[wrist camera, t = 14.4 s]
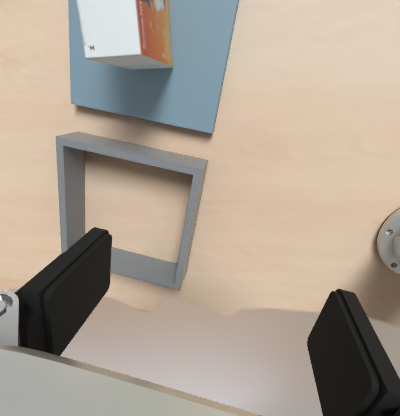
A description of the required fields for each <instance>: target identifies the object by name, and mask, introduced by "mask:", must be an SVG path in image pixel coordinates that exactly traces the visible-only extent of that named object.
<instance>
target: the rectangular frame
mask: <svg viewBox="0 0 400 416" xmlns="http://www.w3.org/2000/svg"><path fill="white" fill-rule="evenodd" d="M84 150H85V151H89V152H94V153H98V154H103V155H107V156H111V157H116V158H120V159H125V160H129V161H133V162H138V163H142V164H147V165H151V166H155V167H160V168H164V169H169V170H173V171H178V172H182V173H186V174H191V175H193V179H192V185H191V191H190V197H189V202H188V208H187V214H186V220H185V225H184V231H183V237H182V243H181V248H180V254H179V260H178V264H175V263H171V262H167V261H163V260H159V259H155V258H152V257H148V256H144V255H140V254H136V253H132V252H128V251H124V250H121V249H117V248H113V247H111V270H110V272H112V273H116V274H119V275H123V276H127V277H131V278H134V279H138V280H142V281H146V282H149V283H153V284H157V285H161V286H164V287H168V288H172V289H176V290H179V291H180V288H181V285H182V282H183V280H184V277H185V274H186V271H187V266H188V261H189V256H190V251H191V246H192V240H193V235H194V230H195V225H196V220H197V215H198V209H199V204H200V199H201V194H202V189H203V184H204V178H205V173H206V168H207V163H208V160H204V159H200V158H195V157H190V156H186V155H181V154H177V153H172V152H168V151H163V150H159V149H154V148H150V147H145V146H141V145H136V144H131V143H127V142H122V141H118V140H113V139H109V138H104V137H100V136H95V135H91V134H86V133H82V132H74V133H70V134H65V135H60V136H56V151H57V170H58V190H59V210H60V229H61V249H62V253H64V252H65V251H66V250H68V249H69V248H70V247H71V246H72V245H73V244H75V243H76V242H77V241H78V240H79V239H81V238H82V237H83V236H84V235H85V173H84Z"/></svg>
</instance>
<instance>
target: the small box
mask: <svg viewBox="0 0 400 416" xmlns="http://www.w3.org/2000/svg"><path fill="white" fill-rule="evenodd" d="M77 6H78V12H79V18H80V24H81V30H82V37H83V44H84V53H85V58H86V59H88V60H92V61H96V62H101V63H105V64H110V65H114V66H118V67H123V68H127V69H131V70H135V69H157V68H173V59H172V46H171V28H170V9H169V0H77Z"/></svg>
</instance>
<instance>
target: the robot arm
mask: <svg viewBox="0 0 400 416" xmlns="http://www.w3.org/2000/svg"><path fill="white" fill-rule="evenodd" d="M111 247H112V236H111V235H110V234H109V232H108V231H107V230H104V229H100V228H96V227H94V228H92V229H91V230H90V231H89V232H88V233H86V234H85V235H84V236H83V237H82V238H81V239H79V240H78V241H77V242H76V243H75V244H73V245H72V246H71V247H70V248H69V249H68V250H66V251H65V252H64V253H62V254H61V255H59V256H58V257H57V258H56V259H55V260H53V261H52V262H51V263H50V264H49V265H48V266H46V267H45V268H44V269H43V270H42V271H40V272H39V273H38V274H37V275H36V276H34V277H33V278H32V279H31V280H30V281H28V282H27V283H26V284H25V285H24V286H23V287H21V288H20V289H19V290H18V291H17V292H15V293H13V292H10V291H5V290H0V416H260V415H257V414H254V413H250V412H247V411H244V410H241V409H238V408H234V407H231V406H227V405H224V404H221V403H218V402H215V401H211V400H208V399H205V398H201V397H198V396H194V395H191V394H188V393H184V392H181V391H178V390H175V389H171V388H168V387H164V386H161V385H158V384H155V383H151V382H148V381H145V380H141V379H138V378H134V377H131V376H128V375H124V374H121V373H117V372H114V371H111V370H107V369H104V368H100V367H97V366H94V365H90V364H87V363H83V362H79V361H76V360H72V359H69V358H65V357H61V356H60V355H61V354H62V352H63V351H64V350H65V348H66V347H67V345H68V344H69V343H70V341H71V340H72V339H73V337H74V336H75V334H76V333H77V332H78V330H79V329H80V328H81V326H82V325H83V324H84V322H85V321H86V319H87V318H88V316H89V315H90V314H91V313H92V311H93V309H94V308H95V307H96V306H97V304H98V303H99V302H100V300H101V299H102V297H103V296H104V295H105V293H106V292H107V290H108V288H109V285H110V270H111ZM377 251H378V254H379V256H380V258H381V259H382V261H383V262H384V264H385V265H386V266H387V267H388V268H389V269H390V270H392V271H393V272H395V273H396V274H398V275H400V208H399V209H398V210H396V211H395V212H394V213H393V214H392V215H390V217H389V218H388V219H387V220H386V221H385V222H384V224H383V225H382V227H381V229H380V231H379V234H378V237H377ZM307 346H308V351H309V355H310V360H311V364H312V368H313V373H314V377H315V382H316V385H317V391H318V395H319V399H320V403H321V408H322V413H323V416H400V379H399V377H398V375H397V373H396V371H395V369H394V367H393V365H392V363H391V361H390V360H389V358H388V356H387V354H386V352H385V350H384V348H383V347H382V345H381V342H380V340H379V339H378V337H377V335H376V333H375V331H374V329H373V327H372V326H371V323H370V321H369V319H368V318H367V316H366V314H365V312H364V310H363V308H362V306H361V304H360V302H359V300H358V298H357V297H356V295H355V293H353V292H349V291H345V290H341V289H337V290H336V291H335V292H334V291H332V292H331V293H330V295H329V297H328V299H327V301H326V303H325V305H324V307H323V309H322V311H321V313H320V315H319V317H318V319H317V321H316V323H315V325H314V327H313V329H312V331H311V333H310V335H309V337H308V341H307Z"/></svg>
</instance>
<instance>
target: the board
mask: <svg viewBox="0 0 400 416" xmlns="http://www.w3.org/2000/svg"><path fill="white" fill-rule="evenodd" d="M68 1H69V40H70V79H71V104H75V105H79V106H84V107H89V108H93V109H98V110H103V111H108V112H112V113H117V114H122V115H127V116H131V117H136V118H141V119H146V120H150V121H155V122H160V123H164V124H169V125H174V126H179V127H183V128H188V129H193V130H198V131H202V132H207V133H213V132H214V127H215V122H216V116H217V111H218V106H219V101H220V96H221V91H222V85H223V80H224V75H225V70H226V65H227V60H228V54H229V49H230V44H231V39H232V34H233V29H234V23H235V18H236V13H237V8H238V3H239V0H169V9H170V28H171V46H172V59H173V68H157V69H135V70H131V69H127V68H123V67H118V66H114V65H110V64H105V63H101V62H96V61H92V60H88V59H86V58H85V53H84V44H83V37H82V30H81V24H80V18H79V12H78V6H77V0H68Z"/></svg>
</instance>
